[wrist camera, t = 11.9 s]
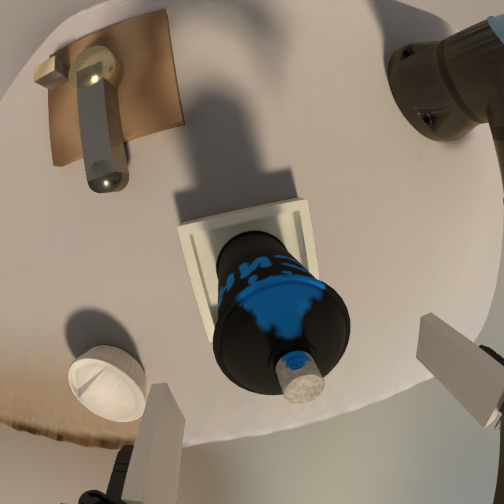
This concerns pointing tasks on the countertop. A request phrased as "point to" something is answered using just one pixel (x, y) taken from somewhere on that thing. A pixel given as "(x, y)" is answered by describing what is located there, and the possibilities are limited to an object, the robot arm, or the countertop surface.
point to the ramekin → (109, 383)
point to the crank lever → (100, 118)
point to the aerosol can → (275, 320)
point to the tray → (231, 224)
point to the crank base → (129, 90)
